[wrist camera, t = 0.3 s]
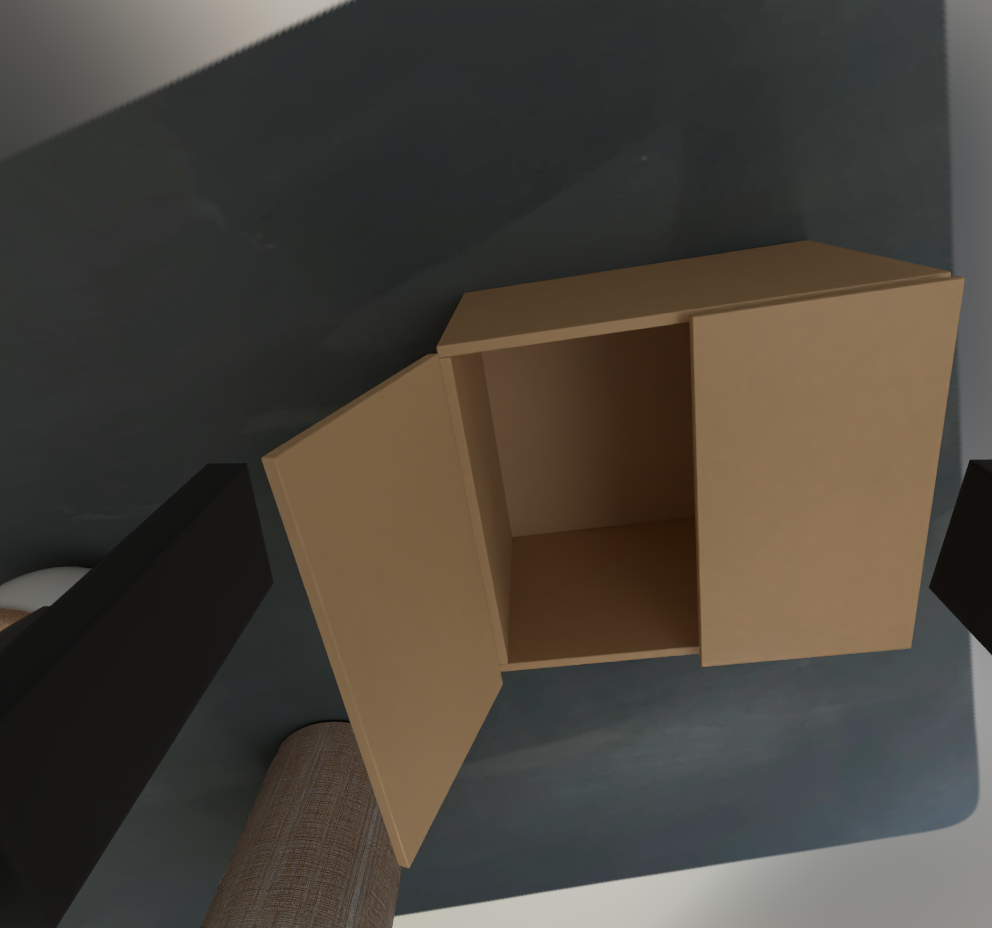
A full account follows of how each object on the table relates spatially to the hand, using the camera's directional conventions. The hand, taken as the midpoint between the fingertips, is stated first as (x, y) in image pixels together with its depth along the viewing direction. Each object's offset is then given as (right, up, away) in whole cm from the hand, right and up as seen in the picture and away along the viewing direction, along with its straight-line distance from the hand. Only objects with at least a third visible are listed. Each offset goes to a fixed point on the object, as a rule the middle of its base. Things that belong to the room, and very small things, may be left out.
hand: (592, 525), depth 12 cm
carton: (+6, +4, +20) cm, 21 cm away
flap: (-4, -3, +7) cm, 9 cm away
